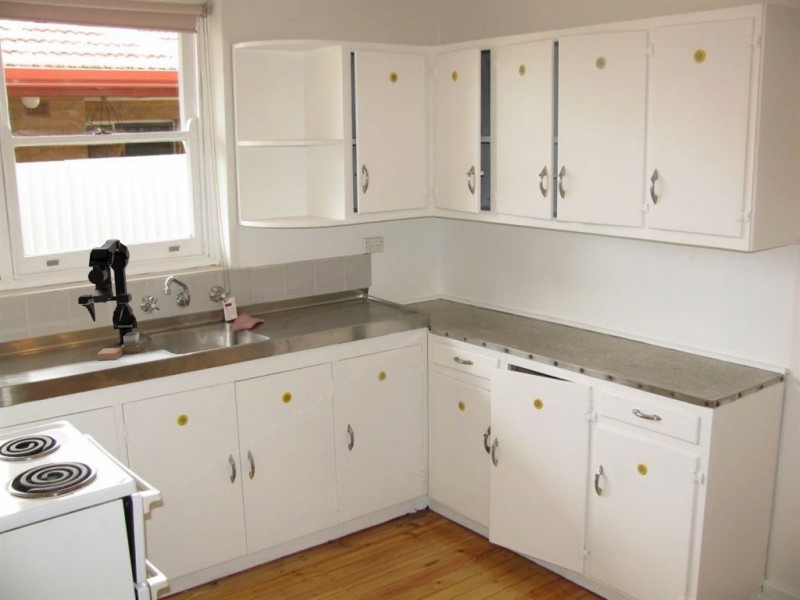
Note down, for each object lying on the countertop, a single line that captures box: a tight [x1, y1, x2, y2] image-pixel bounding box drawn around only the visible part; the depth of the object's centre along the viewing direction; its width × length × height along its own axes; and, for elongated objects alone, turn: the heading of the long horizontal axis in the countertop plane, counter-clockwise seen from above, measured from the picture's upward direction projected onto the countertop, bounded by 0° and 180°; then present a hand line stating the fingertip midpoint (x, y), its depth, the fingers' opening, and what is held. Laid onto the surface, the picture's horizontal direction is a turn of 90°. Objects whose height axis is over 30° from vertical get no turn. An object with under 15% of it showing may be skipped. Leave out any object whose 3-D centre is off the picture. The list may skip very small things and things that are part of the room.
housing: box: [123, 331, 141, 346], centre depth 335 cm, size 7×4×5 cm, turn 5°
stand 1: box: [97, 347, 123, 361], centre depth 324 cm, size 9×7×2 cm
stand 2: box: [119, 341, 145, 354], centre depth 335 cm, size 9×7×2 cm
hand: (106, 321), depth 321 cm, fingers open, 9 cm apart
